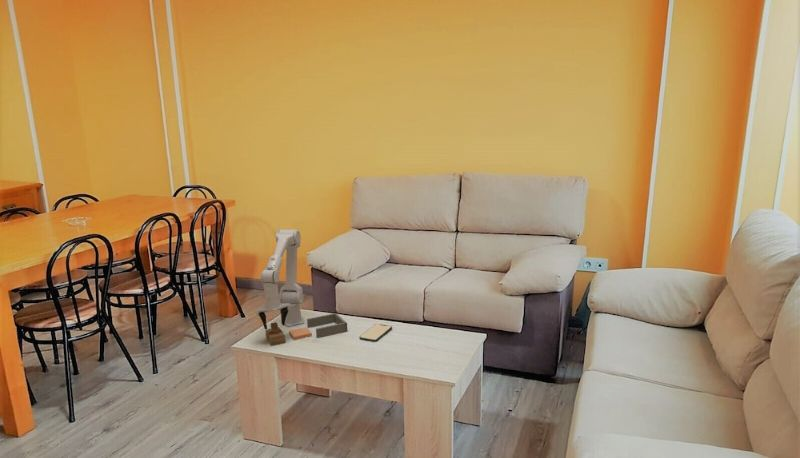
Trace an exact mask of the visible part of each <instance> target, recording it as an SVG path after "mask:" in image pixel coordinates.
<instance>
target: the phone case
mask: <svg viewBox="0 0 800 458" xmlns="http://www.w3.org/2000/svg"><path fill="white" fill-rule="evenodd" d="M392 330H393V326H392V325H388V324H381V323H376V324H373V325H372V326H371V327H370V328H369V329H367V330H366V331H365V332H363V333H362V334H361V335H360V336H359V337H358V338H359V340H361V341H364V342H365V341H366V342H371V343H372V342H373V343H377V342H379V341H380V340H381V339H382V338H384V337H385V336H386V335H387V334H389V333H390V332H391V331H392Z"/></svg>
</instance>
